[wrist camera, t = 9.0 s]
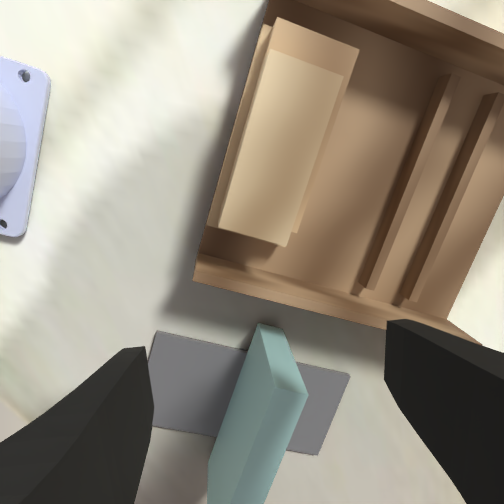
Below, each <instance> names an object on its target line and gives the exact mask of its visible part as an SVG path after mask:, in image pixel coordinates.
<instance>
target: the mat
mask: <svg viewBox="0 0 504 504" xmlns="http://www.w3.org/2000/svg"><path fill="white" fill-rule="evenodd" d="M247 353H248V351H245V350H241V349H236V348H232V347H228V346H223V345H219V344H214V343H210V342H205V341H201V340H197V339H192V338H188V337H183V336H179V335H174V334H170V333H166V332H161V331H157V333H156V336H155V340H154V344H153V347H152V351H151V355H150V358H149V362H148V369H149V375H150V382H151V388H152V395H153V401H154V415H153V423H152V426H157V427H163V428H168V429H174V430H180V431H185V432H191V433H196V434H202V435H207V436H213V437H217V436H218V433H219V430H220V428H221V425H222V422H223V419H224V417H225V414H226V411H227V408H228V405H229V403H230V400H231V397H232V394H233V392H234V389H235V386H236V383H237V380H238V378H239V375H240V372H241V369H242V367H243V364H244V361H245V358H246V355H247ZM296 364H297V367H298V369H299V372H300V374H301V377H302V380H303V382H304V385H305V387H306V390H307V392H308V398H307V400H306V402H305V405H304V407H303V410H302V412H301V415H300V417H299V419H298V422H297V424H296V427H295V429H294V432H293V434H292V436H291V439H290V441H289V444H288V446H287V448H286V450H290V451H296V452H301V453H307V454H313V455H318V454H319V451H320V449H321V446H322V444H323V442H324V439H325V437H326V434H327V432H328V430H329V427H330V425H331V422H332V420H333V417H334V415H335V413H336V410H337V408H338V405H339V403H340V401H341V398H342V396H343V393H344V391H345V388H346V386H347V384H348V381H349V379H350V375H349V374H347V373H343V372H338V371H334V370H329V369H325V368H321V367H316V366H312V365H307V364H303V363H298V362H296Z"/></svg>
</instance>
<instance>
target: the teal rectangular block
mask: <svg viewBox="0 0 504 504" xmlns="http://www.w3.org/2000/svg"><path fill="white" fill-rule="evenodd" d="M307 398H308V392H307V390H306V387H305V385H304V382H303V380H302V377H301V374H300V372H299V369H298V367H297V364H296V362H295V359H294V357H293V354H292V352H291V349H290V347H289V344H288V342H287V339H286V337H285V334H284V331H283V329H280V328H276V327H272V326H269V325H265V324H261V323H258V325H257V328H256V330H255V333H254V336H253V339H252V341H251V344H250V347H249V350H248V353H247V355H246V358H245V361H244V364H243V367H242V369H241V372H240V375H239V378H238V380H237V383H236V386H235V389H234V392H233V394H232V397H231V400H230V403H229V405H228V408H227V411H226V414H225V417H224V419H223V422H222V425H221V428H220V430H219V433H218V436H217V439H216V442H215V444H214V447H213V450H212V453H211V456H210V458H209V461H208V486H207V504H264V502H265V499H266V497H267V494H268V492H269V490H270V487H271V485H272V482H273V480H274V478H275V475H276V473H277V470H278V468H279V465H280V463H281V461H282V458H283V456H284V453H285V451H286V448H287V446H288V444H289V441H290V439H291V436H292V434H293V432H294V429H295V427H296V424H297V422H298V419H299V417H300V415H301V412H302V410H303V407H304V405H305V402H306V400H307Z"/></svg>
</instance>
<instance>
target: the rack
mask: <svg viewBox="0 0 504 504" xmlns="http://www.w3.org/2000/svg"><path fill="white" fill-rule="evenodd" d="M503 196H504V34H503V33H501V32H498V31H496V30H494V29H491V28H489V27H487V26H485V25H482V24H480V23H478V22H475V21H473V20H471V19H469V18H466V17H464V16H462V15H459V14H457V13H455V12H453V11H450V10H448V9H446V8H443V7H441V6H439V5H437V4H434V3H432V2H430V1H427V0H269V2H268V5H267V9H266V12H265V16H264V19H263V23H262V26H261V30H260V33H259V37H258V41H257V44H256V48H255V51H254V55H253V58H252V62H251V65H250V69H249V72H248V76H247V79H246V83H245V87H244V90H243V94H242V97H241V101H240V104H239V108H238V111H237V115H236V118H235V122H234V126H233V129H232V133H231V136H230V140H229V143H228V147H227V150H226V154H225V157H224V161H223V165H222V168H221V172H220V175H219V179H218V182H217V186H216V189H215V193H214V196H213V200H212V204H211V207H210V211H209V214H208V218H207V221H206V225H205V228H204V232H203V235H202V239H201V243H200V246H199V250H198V253H197V257H196V262H195V268H194V274H193V280H192V281H195V282H199V283H203V284H207V285H211V286H214V287H218V288H222V289H226V290H230V291H234V292H238V293H242V294H246V295H250V296H254V297H258V298H262V299H266V300H270V301H274V302H278V303H282V304H286V305H290V306H293V307H297V308H301V309H305V310H309V311H313V312H317V313H321V314H325V315H329V316H333V317H337V318H341V319H345V320H349V321H353V322H357V323H361V324H365V325H368V326H372V327H376V328H380V329H384V330H386V325H387V321H389V320H398V319H410V320H413V321H417V322H420V323H423V324H426V325H428V326H431V327H434V328H437V329H439V330H442V331H445V332H447V333H450V334H452V335H455V336H458V337H460V338H463V339H466V340H468V341H471V342H474V343H476V344H479V345H482V344H481V343H479V342H478V341H476V340H475V339H474V338H472V337H471V336H469V335H468V334H467V333H465V332H464V331H462V330H461V329H460V328H458V327H457V326H455V325H454V324H452V323H451V322H450V321H448V320H447V317H448V315H449V312H450V310H451V308H452V306H453V304H454V302H455V299H456V297H457V295H458V293H459V291H460V289H461V286H462V284H463V282H464V280H465V278H466V276H467V274H468V271H469V269H470V267H471V265H472V263H473V261H474V258H475V256H476V254H477V252H478V250H479V248H480V245H481V243H482V241H483V239H484V237H485V235H486V232H487V230H488V228H489V226H490V224H491V222H492V219H493V217H494V215H495V213H496V211H497V209H498V207H499V204H500V202H501V200H502V198H503Z"/></svg>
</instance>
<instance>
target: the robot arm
mask: <svg viewBox="0 0 504 504" xmlns="http://www.w3.org/2000/svg"><path fill="white" fill-rule="evenodd" d="M26 71H28V72H29V74H30V80H29V81H28V82H24V80H23V79H22V75H23V73H24V72H26ZM50 87H51V80H50V77H49V75H48V74H47V73H46V72H44V71H43V70H41V69H39V68H36V67H33V66H30V65H27V64H24V63H21V62H18V61H15V60H12V59H9V58H6V57H3V56H0V221H1V219H2V220H4V221H5V222H6V223H7V228H3V227H2V226H1V225H0V234H2V235H6V236H10V237H18V236H20V235H23V234H24V233H25V231H26V229H27V223H28V217H29V211H30V206H31V200H32V194H33V188H34V182H35V176H36V170H37V164H38V158H39V152H40V146H41V140H42V135H43V129H44V123H45V117H46V111H47V105H48V99H49V93H50ZM384 380H385V382H386V384H387V386H388V388H389V390H390V392H391V394H392V396H393V398H394V399H395V401H396V403H397V405H398V407H399V408H400V410H401V411H402V413H403V414H404V416H405V417H406V418H407V420H408V421H409V423H410V424H411V425H412V427H413V428H414V430H415V431H416V432H417V434H418V435H419V437H420V438H421V439H422V441H423V442H424V443H425V445H426V446H427V447H428V449H429V450H430V452H431V453H432V454H433V456H434V457H435V458H436V460H437V461H438V462H439V464H440V465H441V467H442V468H443V469H444V471H445V472H446V473H447V475H448V476H449V478H450V479H451V480H452V482H453V483H454V485H455V486H456V488H457V489H458V491H459V492H460V494H461V495H462V497H463V499H464V500H465V502H466V504H504V353H502V352H499V351H496V350H493V349H490V348H487V347H485V346H482V345H479V344H476V343H474V342H471V341H468V340H466V339H463V338H460V337H458V336H455V335H452V334H450V333H447V332H445V331H442V330H439V329H437V328H434V327H431V326H428V325H426V324H423V323H420V322H417V321H413V320H410V319H398V320H389V321H387V325H386V348H385V370H384ZM153 415H154V401H153V395H152V388H151V382H150V375H149V369H148V362H147V356H146V349H145V346H142V347H133V348H123V349H122V350H121V351H119V352H118V353H117V354H116V355H114V356H113V357H112V358H111V359H110V360H108V361H107V362H106V363H105V364H104V365H103V366H102V367H100V368H99V369H98V370H97V371H96V372H95V373H93V374H92V375H91V376H90V377H89V378H88V379H86V380H85V381H84V382H83V383H82V384H81V385H79V386H78V387H77V388H76V389H75V390H73V391H72V392H71V393H69V394H68V395H67V396H66V397H64V398H63V399H62V400H60V401H59V402H58V403H57V404H55V405H54V406H53V407H52V408H50V409H49V410H48V411H46V412H45V413H44V414H42V415H41V416H39V417H38V418H37V419H35V420H34V421H32V422H31V423H30V424H28V425H27V426H25V427H24V428H22V429H21V430H19V431H18V432H16V433H15V434H13V435H11V436H10V437H8V438H7V439H5V440H4V441H2V442H1V443H0V504H134V501H135V498H136V494H137V490H138V486H139V482H140V478H141V475H142V471H143V467H144V463H145V459H146V455H147V451H148V447H149V443H150V438H151V431H152V423H153Z"/></svg>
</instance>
